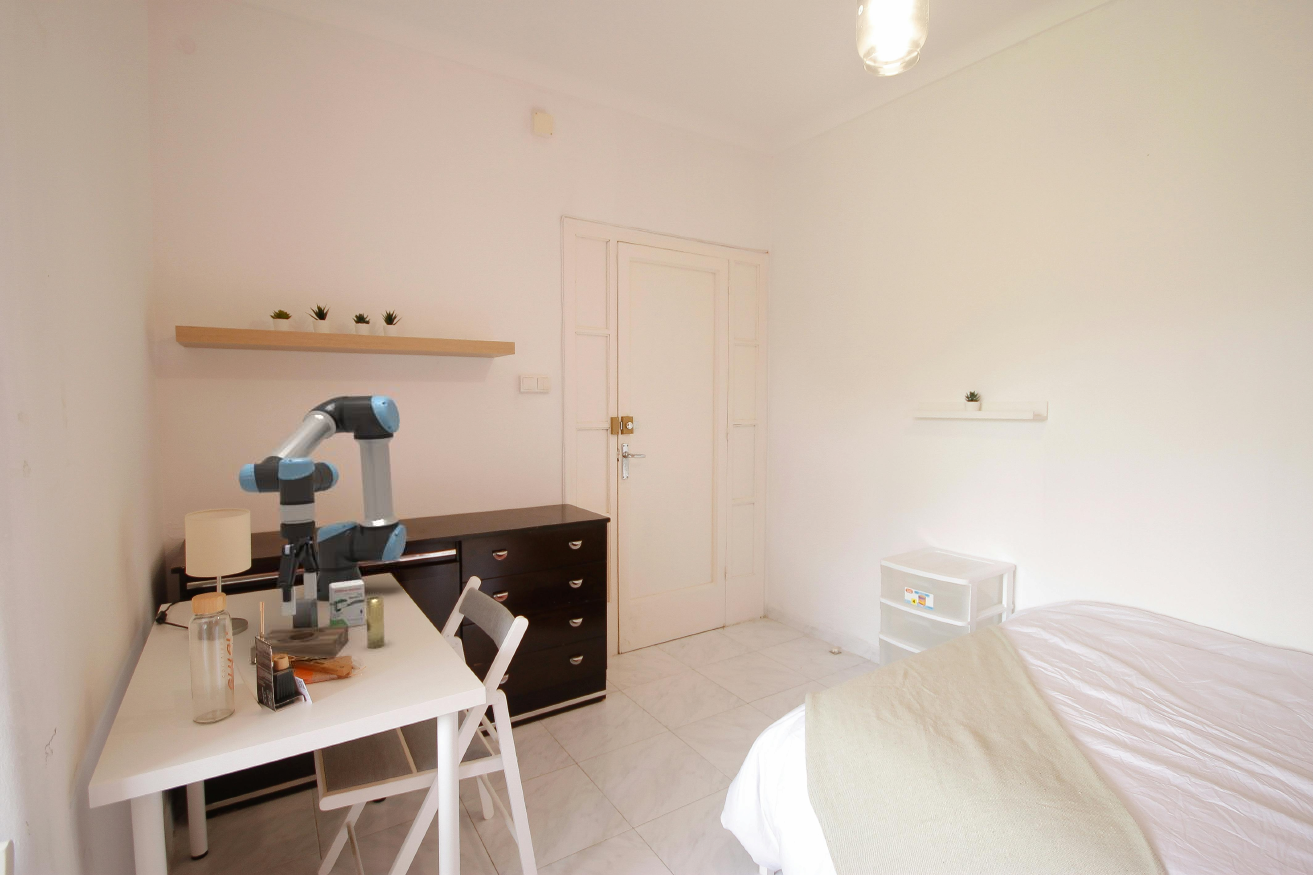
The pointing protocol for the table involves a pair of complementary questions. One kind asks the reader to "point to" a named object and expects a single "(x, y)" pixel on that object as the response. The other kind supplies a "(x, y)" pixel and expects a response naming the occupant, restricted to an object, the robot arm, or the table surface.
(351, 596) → the ink box
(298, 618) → the square bit
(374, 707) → the table surface
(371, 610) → the cylinder
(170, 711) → the table surface
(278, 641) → the bore block
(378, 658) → the table surface
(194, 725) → the table surface
